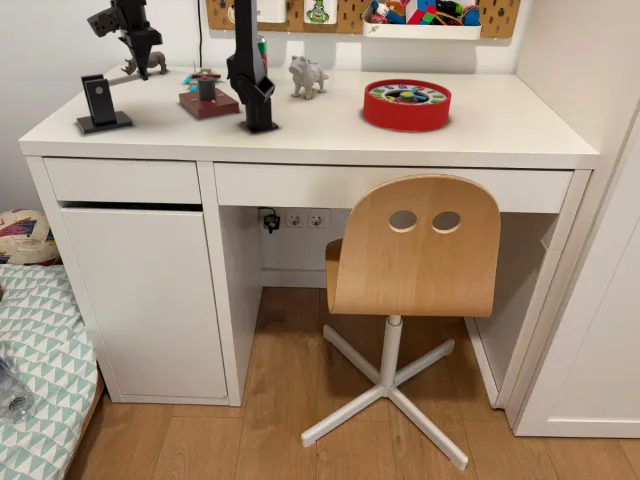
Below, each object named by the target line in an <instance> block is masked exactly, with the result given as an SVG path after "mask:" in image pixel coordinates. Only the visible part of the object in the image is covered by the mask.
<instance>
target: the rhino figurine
mask: <svg viewBox="0 0 640 480" xmlns="http://www.w3.org/2000/svg"><path fill="white" fill-rule="evenodd" d="M124 62H126V63H127V64H128V65H126V66H125V65H124V68H122V67H120V70H121V71H122V72H124V73H125V74H126V76H129V75H133V74H135V72H136V71H137V66H136V64H135V62H134V59H133V57H131V58H130V59H127V58H124ZM158 66H160V71H159V74H160V75H165V74H166V72H168V68H167V66H168V65H167V63H166V56H165V54H164V52H162V51H159V50H157V51H151V52H150V55H149V59H148V63H147V67H146V70H145V74H147V75H148V76H149V74H148V73H149V71H148V69H154V68H156V67H158Z"/></svg>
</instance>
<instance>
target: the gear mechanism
mask: <svg viewBox="0 0 640 480" xmlns="http://www.w3.org/2000/svg"><path fill="white" fill-rule="evenodd" d="M192 63H193V70H194V71H193V72H192V73H189V74H188V75H187V77H186V78H185V79H184V83H185V84H189V85H188V86H189V90H190V91H189V92H193V91H197V90H198V82H197V79H198V78H199V77H202V75H204V76H210V77H214V78H215V81H216V80H217V79H221V77H222V74H220V73H219V74H217V73H216V74H215V73H213V72H212V67H200V68H199V70H200V71H198V72H197V70H196V69H197V68H196V61H192Z"/></svg>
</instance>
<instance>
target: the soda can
mask: <svg viewBox="0 0 640 480" xmlns="http://www.w3.org/2000/svg"><path fill="white" fill-rule="evenodd" d="M257 43H258V49H259V52H260V55H261V57H262V60H263V66H264V71H265V75H266V76H267V77H268V78H269V73H268V72H269V70H268V48H267V47H268V45H267V40H266V37H265V36H264V35H262V34H261V35H260V34H257Z"/></svg>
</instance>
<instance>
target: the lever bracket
mask: <svg viewBox="0 0 640 480" xmlns="http://www.w3.org/2000/svg"><path fill="white" fill-rule="evenodd" d="M98 78H100V79H99V80H94V79H98ZM80 80H81V81H80V82H81V85H82V88H83V93H84V96H85V99H86V104H87V108H88V111H89V115H87V116H81V117H76V119H75V120H76V122H77V124H78V127H79V128H80V129H81V130H82V132H83V134H84V135H88V134H95V133H99V132H105V131H110V130H117V129H122V128H126V127H132V126H133V121H132V120H131V118H130V117H129V116H128V115H127V114H126V113H125V112H124V110H118V111H116V110H115V106H114V102H113V97H112V93H111V88H110V87H109V83H108V78H105V76H104V74H103V73H97V74H89V75H83V76H82V75H81V76H80ZM90 80H91V81H90Z"/></svg>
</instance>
